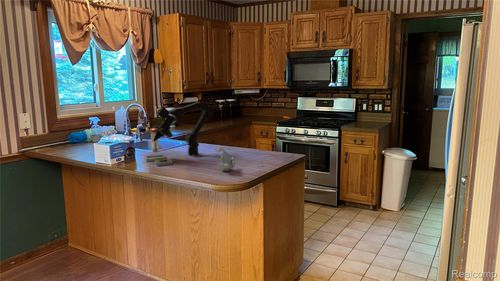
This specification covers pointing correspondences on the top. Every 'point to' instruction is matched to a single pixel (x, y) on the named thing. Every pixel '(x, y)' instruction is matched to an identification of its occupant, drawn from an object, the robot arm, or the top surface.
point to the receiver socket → (163, 162)
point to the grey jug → (226, 160)
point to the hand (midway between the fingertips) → (152, 140)
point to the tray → (155, 157)
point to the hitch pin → (154, 143)
